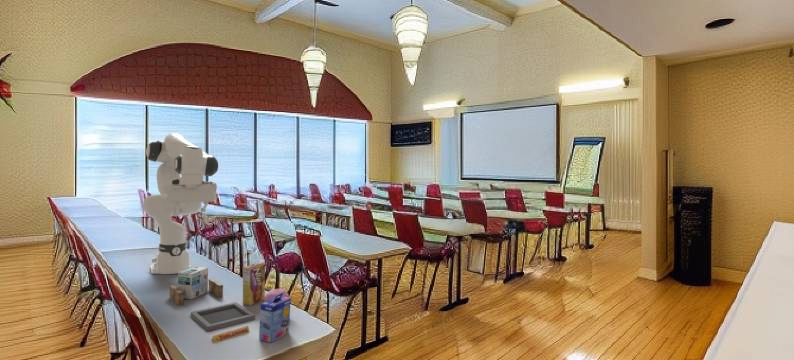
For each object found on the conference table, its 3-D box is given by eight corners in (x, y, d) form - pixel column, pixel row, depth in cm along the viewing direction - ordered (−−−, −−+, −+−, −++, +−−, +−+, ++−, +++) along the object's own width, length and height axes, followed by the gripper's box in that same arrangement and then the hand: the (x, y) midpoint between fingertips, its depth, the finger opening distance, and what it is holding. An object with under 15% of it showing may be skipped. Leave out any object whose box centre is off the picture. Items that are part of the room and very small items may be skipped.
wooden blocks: (169, 297, 169) (169, 285, 169) (212, 289, 181) (212, 278, 181) (178, 305, 161) (179, 293, 160) (222, 296, 173) (223, 285, 172)
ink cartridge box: (272, 343, 132) (273, 299, 131) (258, 340, 134) (259, 296, 133) (290, 332, 141) (291, 290, 140) (277, 329, 143) (278, 288, 142)
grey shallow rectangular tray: (190, 316, 151) (190, 312, 151) (236, 305, 163) (236, 302, 163) (207, 331, 139) (207, 326, 139) (255, 318, 151) (255, 314, 151)
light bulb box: (191, 299, 168) (191, 273, 167) (177, 298, 169) (177, 272, 169) (208, 291, 178) (208, 267, 178) (194, 290, 180) (195, 265, 179)
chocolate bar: (211, 341, 132) (211, 334, 132) (246, 330, 141) (246, 324, 141) (214, 344, 131) (214, 337, 131) (249, 333, 140) (250, 326, 139)
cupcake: (292, 312, 158) (293, 287, 157) (280, 321, 150) (281, 294, 149) (272, 309, 160) (272, 284, 160) (259, 317, 152) (259, 291, 151)
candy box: (256, 297, 173) (257, 261, 173) (265, 299, 172) (266, 263, 171) (241, 304, 165) (242, 266, 164) (250, 305, 164) (251, 268, 163)
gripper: (218, 181, 189) (218, 211, 188) (171, 181, 186) (171, 212, 185) (214, 180, 183) (214, 212, 182) (165, 181, 180) (165, 212, 179)
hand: (192, 212), depth 184 cm, fingers open, 8 cm apart
